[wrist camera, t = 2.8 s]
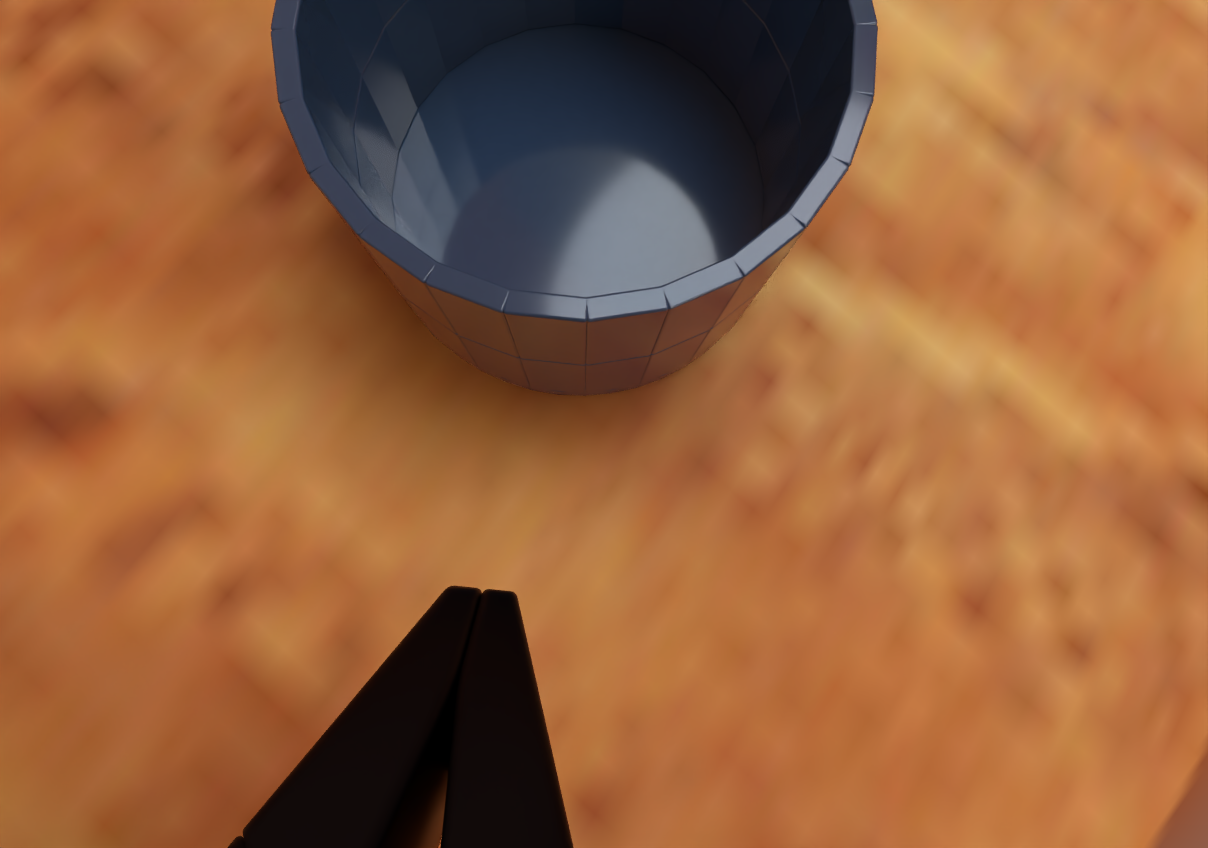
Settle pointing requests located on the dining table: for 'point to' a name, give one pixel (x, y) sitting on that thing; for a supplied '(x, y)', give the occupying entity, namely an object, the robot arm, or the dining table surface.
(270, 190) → the dining table surface
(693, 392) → the dining table surface
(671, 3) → the bowl
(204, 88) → the dining table surface
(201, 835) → the dining table surface
